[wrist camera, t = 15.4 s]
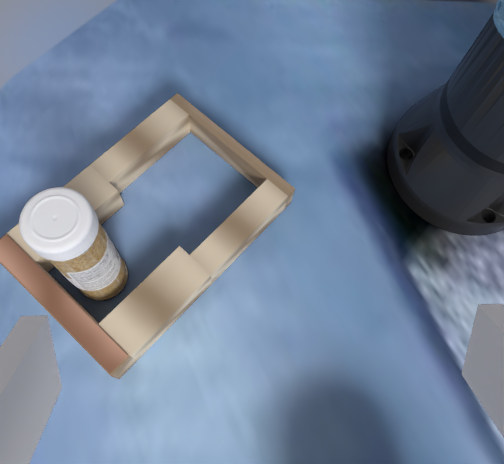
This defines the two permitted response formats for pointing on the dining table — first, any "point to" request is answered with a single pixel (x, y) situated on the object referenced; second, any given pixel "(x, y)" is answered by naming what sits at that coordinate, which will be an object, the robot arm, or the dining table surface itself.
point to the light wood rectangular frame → (174, 266)
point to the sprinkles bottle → (73, 241)
